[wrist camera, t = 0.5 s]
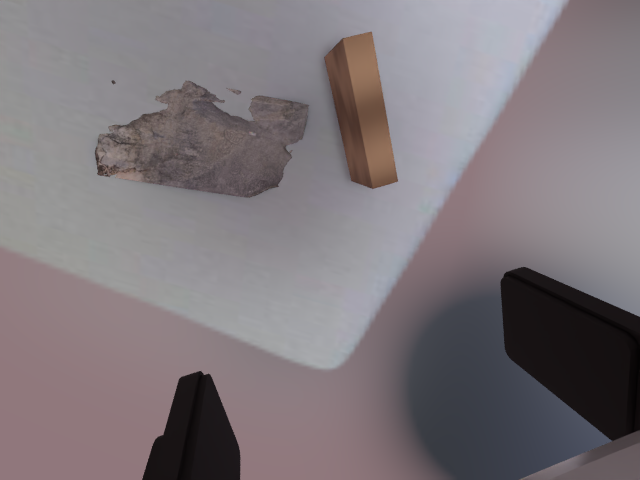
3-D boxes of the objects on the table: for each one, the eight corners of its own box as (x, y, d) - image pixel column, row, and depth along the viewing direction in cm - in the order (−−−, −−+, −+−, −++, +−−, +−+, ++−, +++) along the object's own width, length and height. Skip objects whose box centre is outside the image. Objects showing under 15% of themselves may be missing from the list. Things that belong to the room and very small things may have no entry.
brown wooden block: (324, 57, 32) (342, 38, 26) (349, 51, 33) (374, 31, 27) (351, 180, 36) (372, 188, 30) (373, 173, 37) (400, 180, 30)
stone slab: (309, 98, 32) (297, 203, 34) (306, 101, 34) (294, 201, 36) (94, 59, 28) (94, 180, 30) (104, 65, 30) (102, 179, 32)
